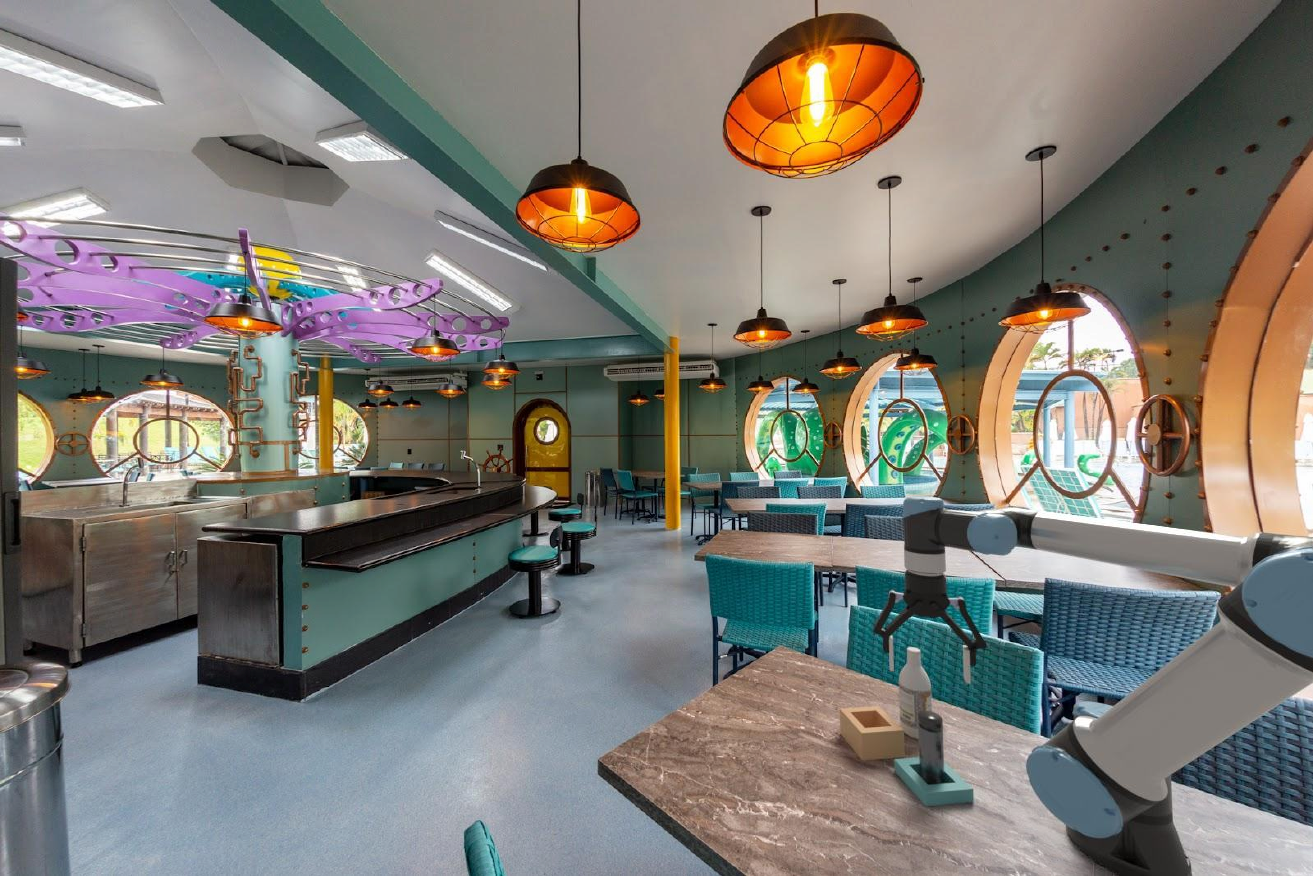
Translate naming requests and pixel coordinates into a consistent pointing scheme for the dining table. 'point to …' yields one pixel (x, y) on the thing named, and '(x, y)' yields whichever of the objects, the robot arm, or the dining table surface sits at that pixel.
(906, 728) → the bath foam
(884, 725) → the socket
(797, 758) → the dining table surface
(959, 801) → the mount
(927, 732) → the pin
